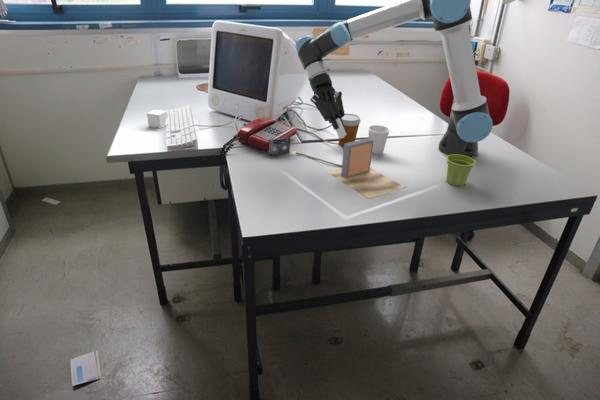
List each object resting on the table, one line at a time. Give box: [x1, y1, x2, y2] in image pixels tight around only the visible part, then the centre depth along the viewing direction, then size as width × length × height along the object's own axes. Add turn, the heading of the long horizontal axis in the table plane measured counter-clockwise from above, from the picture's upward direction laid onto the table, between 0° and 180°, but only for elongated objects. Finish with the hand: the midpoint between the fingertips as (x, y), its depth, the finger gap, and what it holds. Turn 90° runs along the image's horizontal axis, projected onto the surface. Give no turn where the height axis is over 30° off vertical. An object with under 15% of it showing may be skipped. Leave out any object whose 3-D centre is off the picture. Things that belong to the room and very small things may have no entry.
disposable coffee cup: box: [338, 113, 362, 148], centre depth 166 cm, size 10×10×12 cm
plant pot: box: [446, 154, 477, 187], centre depth 141 cm, size 9×9×9 cm
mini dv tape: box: [267, 136, 291, 156], centre depth 158 cm, size 8×2×6 cm, turn 111°
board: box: [326, 167, 405, 200], centre depth 140 cm, size 22×16×1 cm
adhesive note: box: [146, 109, 169, 129], centre depth 179 cm, size 6×6×6 cm
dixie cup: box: [367, 124, 391, 155], centre depth 160 cm, size 8×8×10 cm
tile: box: [341, 137, 374, 179], centre depth 141 cm, size 3×11×12 cm, turn 124°
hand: (342, 136), depth 144 cm, fingers closed
